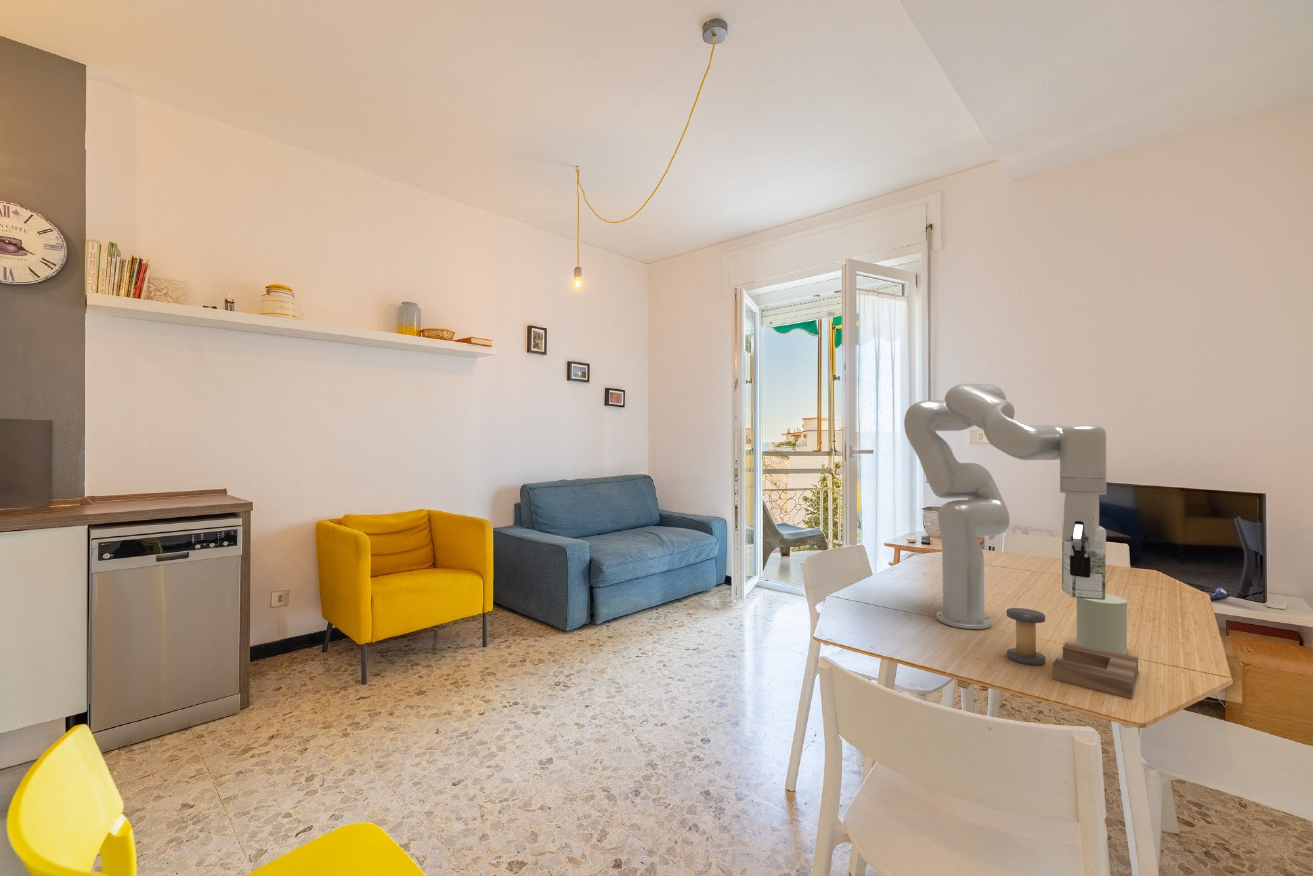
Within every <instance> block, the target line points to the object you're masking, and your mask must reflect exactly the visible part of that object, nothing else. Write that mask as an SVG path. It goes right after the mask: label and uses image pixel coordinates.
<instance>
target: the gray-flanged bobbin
mask: <svg viewBox="0 0 1313 876" xmlns="http://www.w3.org/2000/svg"><path fill="white" fill-rule="evenodd" d="M1006 617H1007V618H1009V619H1011V620H1015V647H1014V648H1013V647H1012V648H1008V649H1007V650H1006V657H1007V658H1008V660H1011V661H1013V662H1015V663H1017V664H1018V663H1019V664H1022V665H1026V666H1035V667H1036V666H1038V667H1039V666H1044V665H1045V664H1046V662H1047V661H1046V656H1045V655H1044V654H1043V653H1041V652H1037V647H1036V646H1037V642H1036V641H1037V638H1036V637H1037V636H1036V635H1037V634H1036V632H1037V626H1036V625H1037V624H1040V623H1041V624H1043V623H1045V622H1046V614H1045V613H1042V612H1041V611H1037V610H1035V609H1029V608H1023V607H1022V608H1021V607H1010V608H1007V609H1006Z"/></svg>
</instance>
